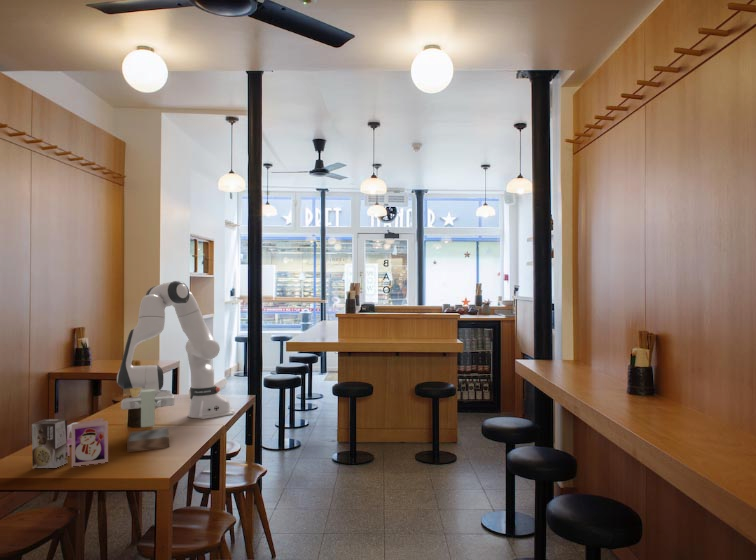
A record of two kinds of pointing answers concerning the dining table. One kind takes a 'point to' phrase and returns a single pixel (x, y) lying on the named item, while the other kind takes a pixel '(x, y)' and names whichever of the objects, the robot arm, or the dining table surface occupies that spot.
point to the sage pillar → (148, 408)
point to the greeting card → (90, 442)
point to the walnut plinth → (148, 440)
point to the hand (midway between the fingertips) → (148, 405)
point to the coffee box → (49, 443)
